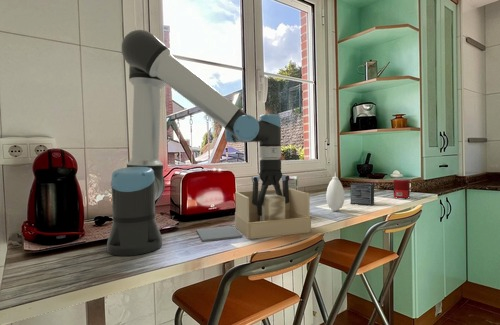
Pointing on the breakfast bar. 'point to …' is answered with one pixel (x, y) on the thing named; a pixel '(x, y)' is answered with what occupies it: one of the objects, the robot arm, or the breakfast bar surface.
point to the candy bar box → (293, 182)
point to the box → (273, 207)
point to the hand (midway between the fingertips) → (271, 223)
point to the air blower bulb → (335, 194)
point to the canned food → (401, 187)
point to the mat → (218, 233)
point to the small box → (362, 193)
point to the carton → (292, 224)
